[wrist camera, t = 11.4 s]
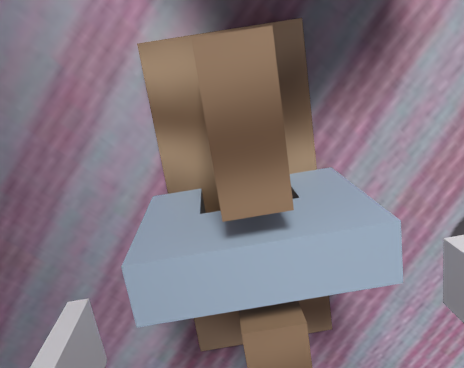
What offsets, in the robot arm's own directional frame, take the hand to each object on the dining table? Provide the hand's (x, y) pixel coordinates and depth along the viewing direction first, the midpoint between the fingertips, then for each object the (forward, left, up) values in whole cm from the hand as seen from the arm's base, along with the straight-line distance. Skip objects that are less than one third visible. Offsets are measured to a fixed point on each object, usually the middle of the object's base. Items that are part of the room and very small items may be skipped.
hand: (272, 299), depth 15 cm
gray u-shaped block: (0, 0, -13) cm, 13 cm away
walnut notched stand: (0, 0, -14) cm, 14 cm away
